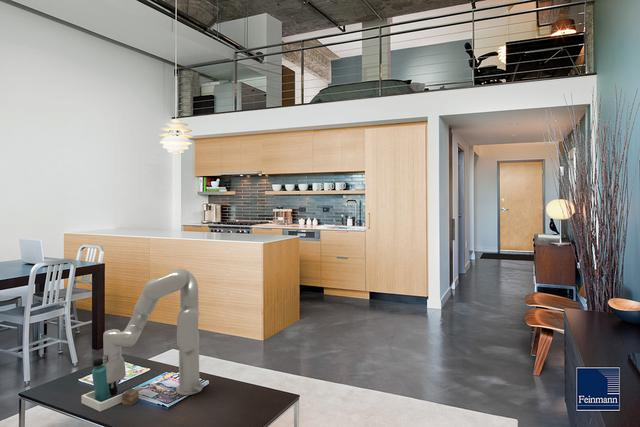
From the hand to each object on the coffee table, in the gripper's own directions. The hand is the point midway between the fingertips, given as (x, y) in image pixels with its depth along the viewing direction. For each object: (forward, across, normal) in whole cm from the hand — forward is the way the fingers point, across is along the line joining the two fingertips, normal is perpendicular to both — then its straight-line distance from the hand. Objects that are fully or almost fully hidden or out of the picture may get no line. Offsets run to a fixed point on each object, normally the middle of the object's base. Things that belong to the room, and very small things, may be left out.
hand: (113, 394), depth 198 cm
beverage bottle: (+1, -5, 0) cm, 5 cm away
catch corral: (+1, -4, 0) cm, 4 cm away
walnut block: (+2, +2, -11) cm, 11 cm away
